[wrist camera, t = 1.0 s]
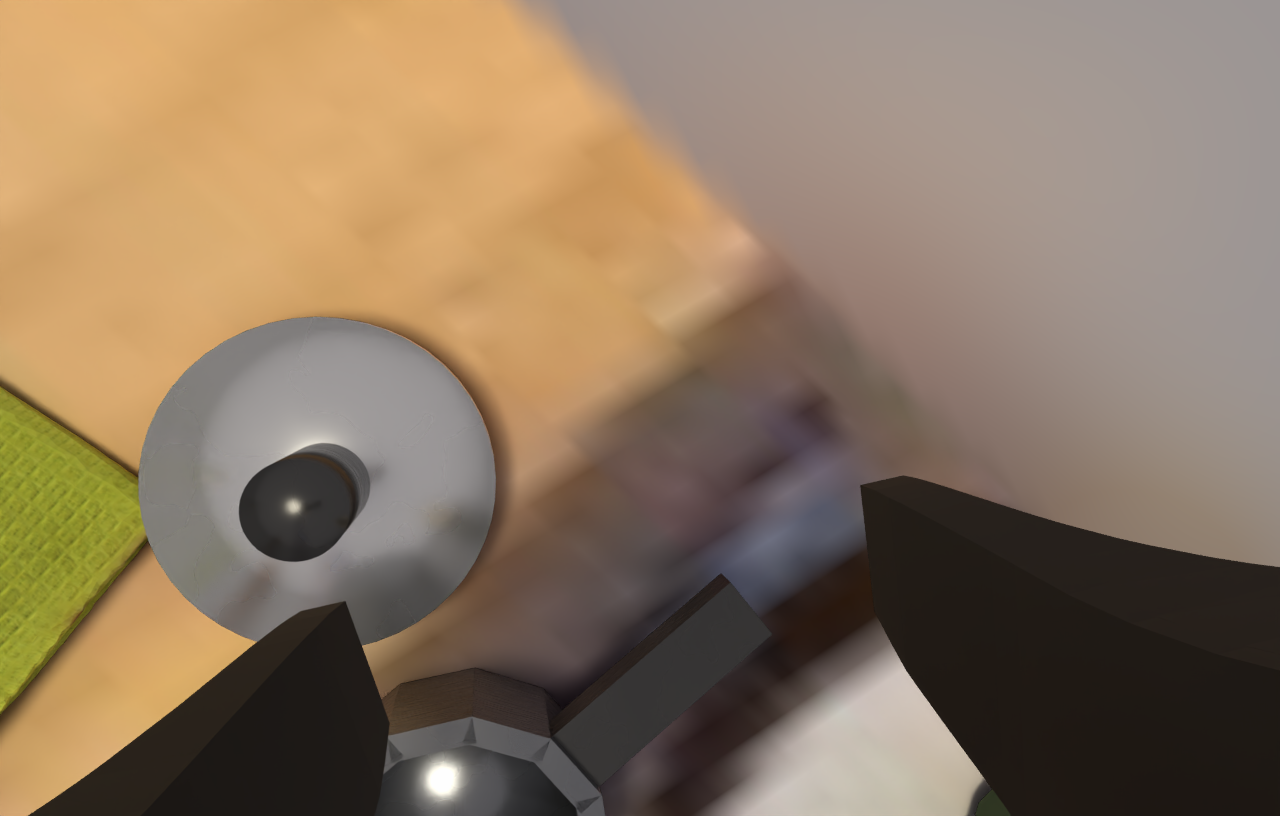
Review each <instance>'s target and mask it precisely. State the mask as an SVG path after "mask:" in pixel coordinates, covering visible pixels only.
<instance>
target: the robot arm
mask: <svg viewBox="0 0 1280 816" xmlns="http://www.w3.org/2000/svg"><path fill="white" fill-rule="evenodd" d="M860 487H861V496H862V505H863V514H864V523H865V532H866V540H867V549H868V558H869V567H870V576H871V585H872V594H873V603H874V611H875V613H876V615H877V617H878V619H879V621H880V623H881V625H882V627H883V628H884V630H885V632H886V634H887V636H888V638H889V640H890V642H891V644H892V646H893V647H894V649H895V651H896V653H897V655H898V656H899V658H900V660H901V662H902V664H903V666H904V667H905V669H906V671H907V672H908V674H909V675H910V676H911V678H912V679H913V681H914V682H915V684H916V685H917V686H918V688H919V689H920V691H921V692H922V693H923V695H924V696H925V698H926V699H927V700H928V702H929V703H930V704H931V706H932V707H933V709H934V710H935V711H936V713H937V714H938V716H939V717H940V718H941V720H942V721H943V722H944V724H945V725H946V727H947V728H948V729H949V731H950V732H951V733H952V735H953V736H954V737H955V739H956V740H957V742H958V743H959V744H960V746H961V747H962V748H963V750H964V751H965V752H966V754H967V755H968V757H969V758H970V759H971V761H972V762H973V763H974V765H975V766H976V768H977V769H978V770H979V772H980V773H981V774H982V776H983V777H984V778H985V780H986V781H987V783H988V784H989V785H990V787H991V788H992V789H993V791H994V792H995V793H996V795H997V796H998V798H999V799H1000V800H1001V802H1002V803H1003V804H1004V806H1005V807H1006V809H1007V810H1008V812H1009V813H1010V815H1011V816H1280V567H1274V566H1266V565H1258V564H1250V563H1244V562H1238V561H1231V560H1225V559H1219V558H1213V557H1206V556H1202V555H1196V554H1191V553H1186V552H1180V551H1176V550H1171V549H1166V548H1161V547H1155V546H1150V545H1145V544H1141V543H1137V542H1132V541H1128V540H1123V539H1119V538H1114V537H1111V536H1107V535H1103V534H1099V533H1096V532H1092V531H1088V530H1084V529H1080V528H1076V527H1073V526H1069V525H1066V524H1062V523H1059V522H1055V521H1052V520H1048V519H1045V518H1042V517H1038V516H1035V515H1032V514H1028V513H1025V512H1022V511H1019V510H1016V509H1012V508H1009V507H1006V506H1003V505H1000V504H997V503H994V502H991V501H988V500H984V499H981V498H978V497H975V496H972V495H969V494H966V493H963V492H960V491H957V490H954V489H951V488H948V487H945V486H941V485H938V484H935V483H931V482H928V481H925V480H921V479H917V478H913V477H908V476H899V477H894V478H890V479H886V480H881V481H877V482H872V483H868V484H863V485H860ZM389 726H390V722H389V720H388V717H387V714H386V711H385V708H384V706H383V703H382V700H381V697H380V695H379V692H378V689H377V686H376V684H375V681H374V678H373V675H372V673H371V670H370V667H369V664H368V662H367V659H366V656H365V653H364V651H363V648H362V645H361V642H360V640H359V637H358V634H357V631H356V629H355V626H354V623H353V620H352V618H351V615H350V612H349V609H348V607H347V604H346V601H343V602H338V603H334V604H329V605H325V606H320V607H316V608H312V609H307V610H303V611H300V612H298V613H297V614H295V615H293V616H292V617H290V618H289V619H287V620H286V621H284V622H283V623H281V624H280V625H279V626H277V627H276V628H275V629H273V630H272V631H271V632H269V633H268V634H267V635H266V636H264V637H263V638H262V639H260V640H259V641H258V642H257V643H255V644H254V645H253V646H252V647H250V648H249V649H248V650H247V651H245V652H244V653H243V654H242V655H241V656H239V657H238V658H237V659H236V660H234V661H233V662H232V663H231V664H229V665H228V666H227V667H226V668H225V669H223V670H222V671H221V672H220V673H218V674H217V675H216V676H215V677H213V678H212V679H211V680H210V681H209V682H207V683H206V684H205V685H204V686H202V687H201V688H200V689H199V690H197V691H196V692H195V693H194V694H193V695H191V696H190V697H189V698H188V699H186V700H185V701H184V702H183V703H181V704H180V705H179V706H178V707H176V708H175V709H174V710H173V711H171V712H170V713H169V714H167V715H166V716H165V717H163V718H162V719H161V720H160V721H158V722H157V723H156V724H154V725H153V726H152V727H150V728H149V729H148V730H146V731H145V732H144V733H143V734H141V735H140V736H139V737H137V738H136V739H135V740H133V741H132V742H131V743H130V744H128V745H127V746H126V747H124V748H123V749H122V750H120V751H119V752H118V753H116V754H115V755H114V756H113V757H111V758H110V759H109V760H107V761H106V762H105V763H103V764H102V765H101V766H99V767H98V768H97V769H95V770H94V771H92V772H91V773H90V774H88V775H87V776H85V777H84V778H83V779H81V780H80V781H78V782H77V783H76V784H74V785H73V786H71V787H70V788H68V789H67V790H66V791H64V792H63V793H61V794H60V795H58V796H57V797H55V798H54V799H52V800H51V801H49V802H48V803H46V804H45V805H43V806H42V807H40V808H39V809H37V810H36V811H34V812H33V813H31V814H30V815H28V816H375V812H376V808H377V804H378V800H379V797H380V792H381V786H382V779H383V773H384V766H385V759H386V751H387V743H388V734H389Z"/></svg>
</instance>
